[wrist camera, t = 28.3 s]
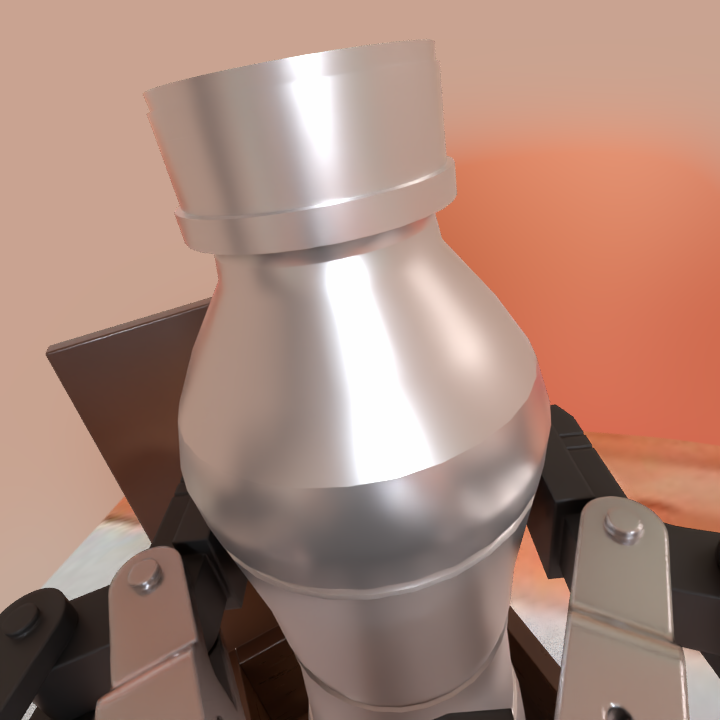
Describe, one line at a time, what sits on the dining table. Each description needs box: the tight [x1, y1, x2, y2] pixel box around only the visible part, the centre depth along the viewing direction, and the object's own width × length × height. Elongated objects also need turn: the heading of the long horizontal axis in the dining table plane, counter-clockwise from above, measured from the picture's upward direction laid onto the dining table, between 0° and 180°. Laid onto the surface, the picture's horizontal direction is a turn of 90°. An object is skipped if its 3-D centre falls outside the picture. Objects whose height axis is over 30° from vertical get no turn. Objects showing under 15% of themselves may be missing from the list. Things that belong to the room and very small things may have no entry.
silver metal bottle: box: [143, 40, 551, 720], centre depth 11 cm, size 6×7×20 cm
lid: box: [46, 297, 279, 652], centre depth 20 cm, size 15×13×5 cm
